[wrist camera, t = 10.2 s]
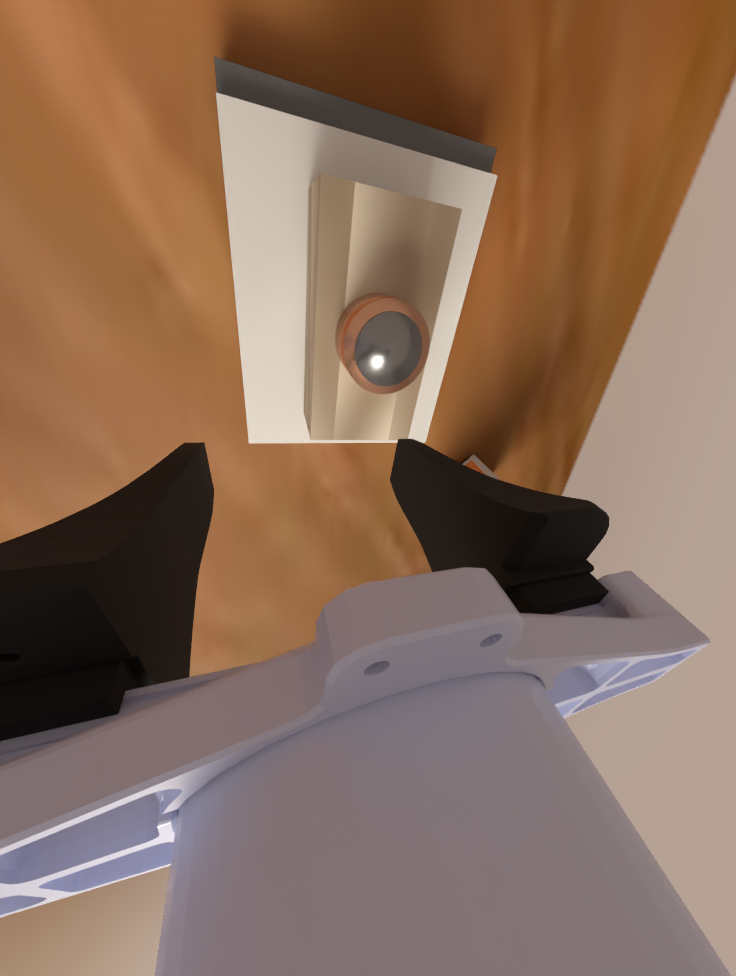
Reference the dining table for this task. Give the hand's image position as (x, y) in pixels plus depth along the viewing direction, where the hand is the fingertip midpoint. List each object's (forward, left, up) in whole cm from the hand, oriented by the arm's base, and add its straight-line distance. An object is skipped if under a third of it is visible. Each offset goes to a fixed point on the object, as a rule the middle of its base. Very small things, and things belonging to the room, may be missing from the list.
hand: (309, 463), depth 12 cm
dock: (+3, +4, -10) cm, 11 cm away
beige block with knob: (+3, +4, -8) cm, 9 cm away
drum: (+3, +4, -4) cm, 7 cm away
